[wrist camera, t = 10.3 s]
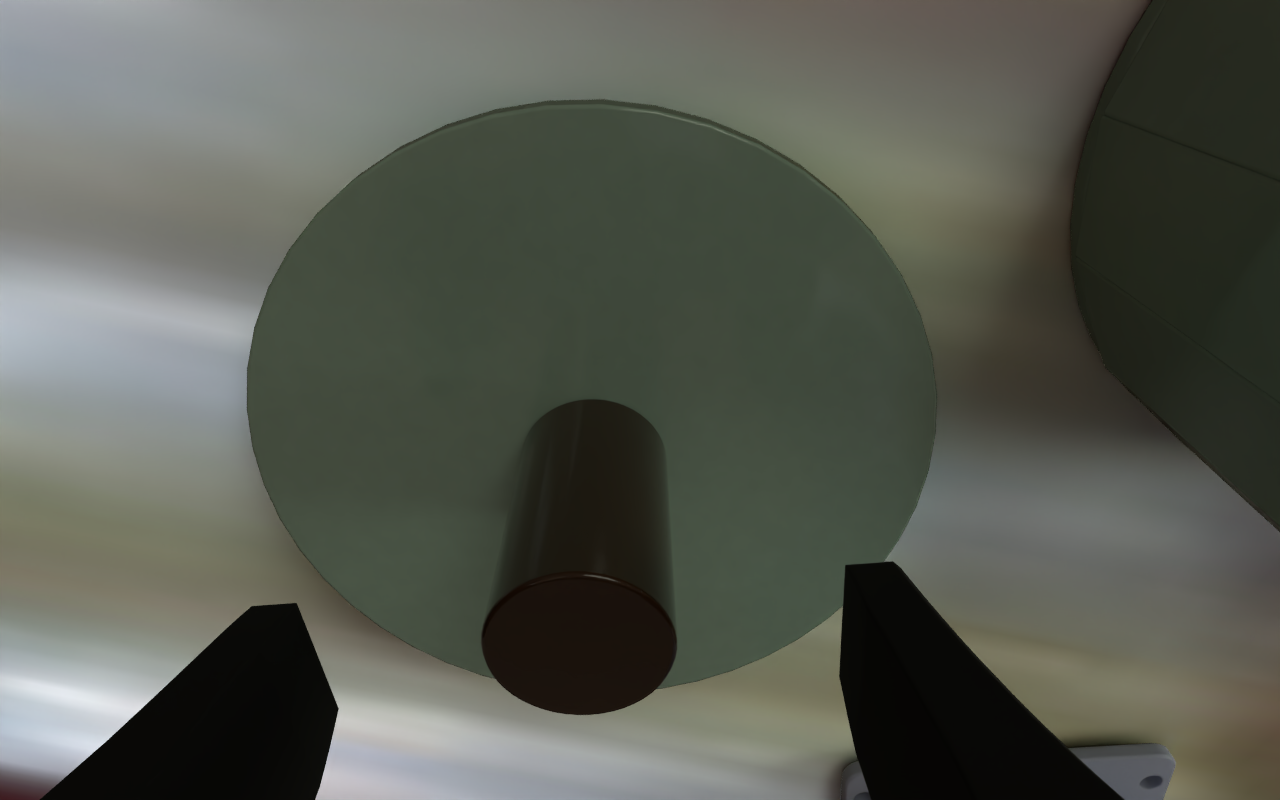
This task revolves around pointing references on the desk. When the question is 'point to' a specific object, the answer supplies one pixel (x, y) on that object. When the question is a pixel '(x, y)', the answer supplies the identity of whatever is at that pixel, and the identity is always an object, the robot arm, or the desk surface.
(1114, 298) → the bowl
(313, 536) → the lid
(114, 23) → the desk surface
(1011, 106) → the desk surface
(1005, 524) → the desk surface
